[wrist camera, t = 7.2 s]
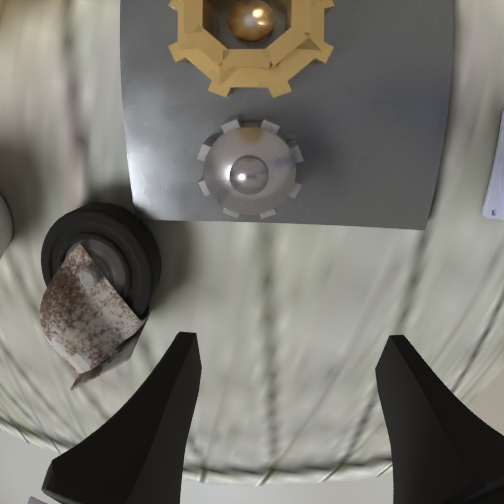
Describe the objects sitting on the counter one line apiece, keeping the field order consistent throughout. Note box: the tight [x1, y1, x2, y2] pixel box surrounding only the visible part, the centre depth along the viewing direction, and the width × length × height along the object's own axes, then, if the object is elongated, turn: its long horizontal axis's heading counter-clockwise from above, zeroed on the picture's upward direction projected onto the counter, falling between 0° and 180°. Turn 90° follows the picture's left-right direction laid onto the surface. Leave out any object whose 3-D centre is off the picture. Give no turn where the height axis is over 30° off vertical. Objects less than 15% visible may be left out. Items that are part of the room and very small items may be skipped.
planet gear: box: [168, 0, 334, 98], centre depth 11 cm, size 7×7×4 cm
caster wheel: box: [40, 203, 161, 390], centre depth 20 cm, size 7×11×10 cm
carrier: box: [120, 0, 454, 230], centre depth 13 cm, size 18×17×4 cm
